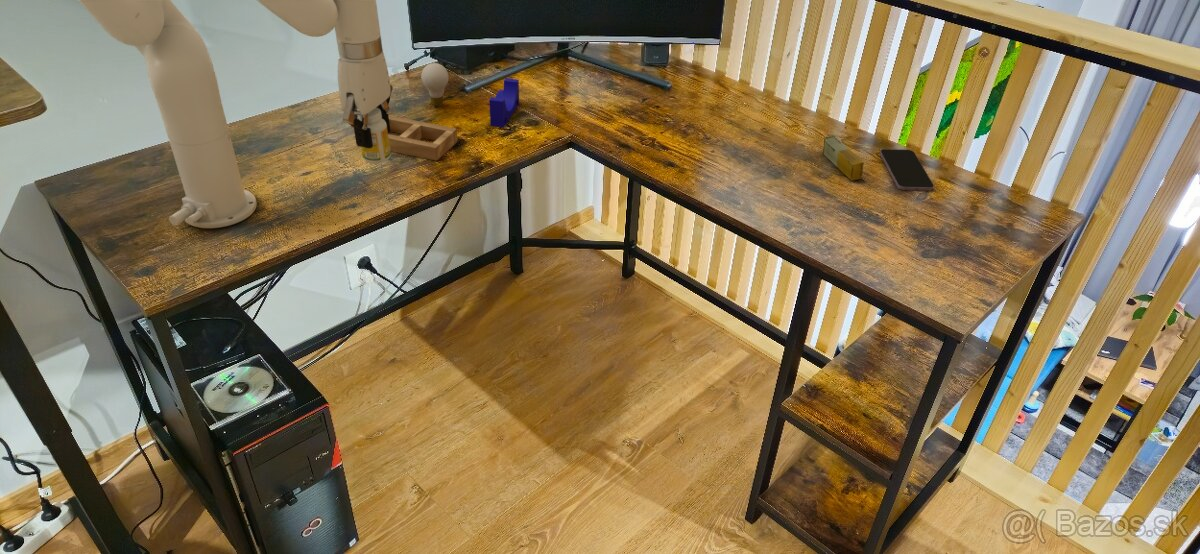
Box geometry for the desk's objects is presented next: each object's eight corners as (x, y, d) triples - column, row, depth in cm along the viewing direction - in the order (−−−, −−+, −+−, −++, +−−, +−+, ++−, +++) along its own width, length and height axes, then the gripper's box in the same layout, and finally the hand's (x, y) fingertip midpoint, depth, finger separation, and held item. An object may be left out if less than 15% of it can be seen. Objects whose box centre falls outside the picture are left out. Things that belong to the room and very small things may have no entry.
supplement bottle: (370, 167, 158) (361, 121, 152) (358, 155, 161) (349, 110, 155) (396, 158, 161) (389, 113, 155) (384, 147, 164) (376, 102, 158)
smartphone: (899, 187, 166) (878, 148, 177) (897, 191, 166) (877, 153, 178) (935, 187, 166) (913, 149, 178) (934, 192, 167) (911, 154, 178)
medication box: (821, 154, 177) (823, 137, 175) (833, 152, 178) (835, 135, 175) (850, 181, 168) (852, 163, 166) (863, 178, 168) (865, 161, 166)
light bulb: (456, 105, 191) (453, 63, 185) (438, 114, 187) (434, 71, 181) (436, 98, 193) (432, 56, 187) (418, 107, 189) (414, 65, 183)
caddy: (436, 161, 170) (435, 147, 168) (364, 145, 174) (362, 132, 172) (458, 141, 177) (457, 128, 175) (387, 127, 181) (386, 114, 179)
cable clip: (500, 102, 193) (499, 77, 189) (519, 104, 192) (518, 79, 189) (483, 124, 183) (482, 99, 180) (503, 127, 183) (502, 101, 179)
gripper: (368, 27, 155) (380, 117, 166) (312, 60, 142) (330, 156, 153) (403, 33, 153) (414, 123, 164) (351, 67, 140) (366, 163, 151)
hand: (373, 138), depth 158 cm, fingers closed on supplement bottle, 5 cm apart
